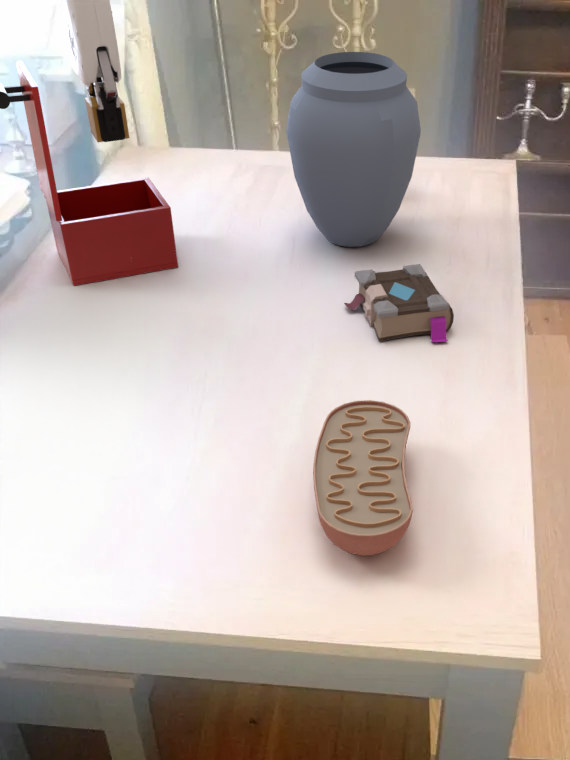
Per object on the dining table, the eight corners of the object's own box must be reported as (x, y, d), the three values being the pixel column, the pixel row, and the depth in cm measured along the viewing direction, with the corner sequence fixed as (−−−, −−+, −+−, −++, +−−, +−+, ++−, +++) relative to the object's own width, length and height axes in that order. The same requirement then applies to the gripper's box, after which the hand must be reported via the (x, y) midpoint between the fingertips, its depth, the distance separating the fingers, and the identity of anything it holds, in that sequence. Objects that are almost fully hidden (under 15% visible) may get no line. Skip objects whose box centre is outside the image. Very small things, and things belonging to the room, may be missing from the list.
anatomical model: (410, 576, 86) (413, 536, 82) (307, 573, 86) (306, 533, 83) (407, 438, 102) (410, 400, 99) (320, 436, 102) (319, 398, 99)
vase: (318, 206, 150) (315, 38, 133) (429, 223, 145) (442, 51, 128) (270, 252, 137) (260, 73, 120) (390, 273, 132) (398, 89, 115)
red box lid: (21, 60, 120) (-20, 63, 118) (37, 86, 111) (-7, 90, 110) (46, 189, 131) (8, 193, 129) (62, 221, 123) (22, 226, 121)
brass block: (97, 142, 122) (91, 107, 119) (91, 132, 125) (84, 97, 122) (129, 138, 123) (124, 103, 120) (122, 128, 126) (116, 93, 123)
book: (331, 286, 129) (331, 251, 126) (412, 276, 131) (414, 242, 128) (369, 354, 116) (370, 318, 112) (458, 342, 118) (462, 306, 114)
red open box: (156, 235, 142) (148, 177, 136) (178, 267, 134) (170, 207, 127) (57, 251, 137) (44, 192, 131) (73, 286, 129) (60, 224, 123)
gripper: (40, -35, 115) (70, 119, 128) (65, -8, 104) (95, 158, 117) (98, -40, 118) (122, 113, 130) (129, -14, 106) (151, 150, 119)
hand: (109, 132), depth 124 cm, fingers closed on brass block, 4 cm apart
